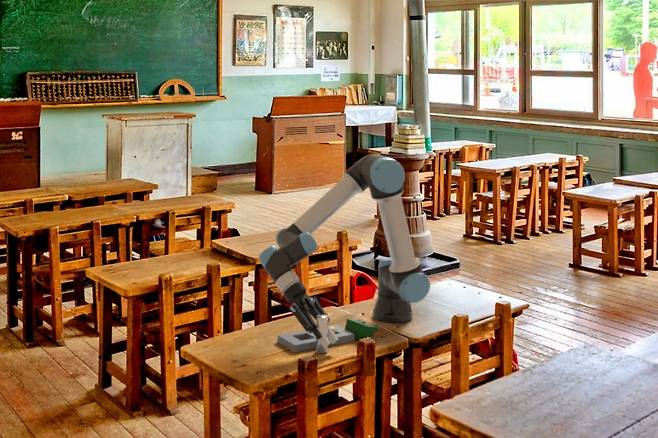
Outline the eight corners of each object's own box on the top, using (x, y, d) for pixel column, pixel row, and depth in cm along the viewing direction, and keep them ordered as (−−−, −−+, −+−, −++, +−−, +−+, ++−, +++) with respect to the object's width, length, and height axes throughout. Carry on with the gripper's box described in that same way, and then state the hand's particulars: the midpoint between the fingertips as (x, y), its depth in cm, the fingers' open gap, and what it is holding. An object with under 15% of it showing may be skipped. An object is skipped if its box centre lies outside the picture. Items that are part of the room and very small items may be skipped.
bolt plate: (336, 331, 295) (336, 320, 295) (354, 340, 285) (355, 329, 285) (277, 341, 283) (277, 330, 282) (294, 352, 273) (294, 340, 272)
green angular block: (371, 351, 288) (383, 330, 285) (359, 350, 284) (371, 329, 281) (353, 330, 296) (364, 310, 293) (341, 329, 292) (352, 308, 290)
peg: (323, 348, 276) (324, 314, 274) (329, 351, 273) (330, 317, 271) (313, 350, 274) (313, 315, 272) (319, 354, 271) (320, 319, 269)
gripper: (299, 288, 286) (338, 342, 280) (269, 299, 272) (309, 357, 266) (312, 275, 282) (352, 330, 276) (282, 286, 268) (323, 344, 262)
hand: (331, 343), depth 271 cm, fingers closed on peg, 4 cm apart
